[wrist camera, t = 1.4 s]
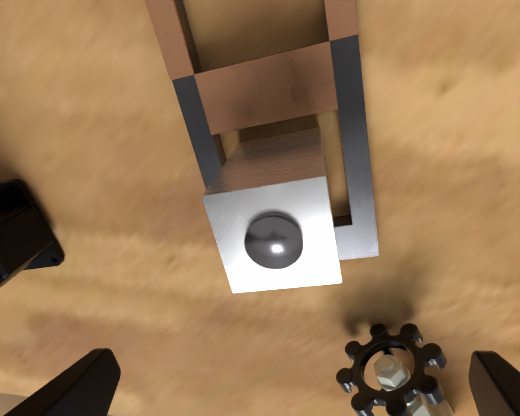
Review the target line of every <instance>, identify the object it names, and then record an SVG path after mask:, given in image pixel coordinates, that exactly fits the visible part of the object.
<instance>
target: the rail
mask: <svg viewBox="0 0 520 416" xmlns="http://www.w3.org/2000/svg"><path fill="white" fill-rule="evenodd" d="M145 1H146V4H147V7H148V10H149V14H150V17H151V20H152V23H153V26H154V30H155V33H156V36H157V39H158V42H159V45H160V49H161V52H162V55H163V58H164V61H165V65H166V68H167V71H168V74H169V77H170V80H172V82H173V85H174V88H175V91H176V95H177V98H178V101H179V104H180V107H181V111H182V114H183V117H184V120H185V123H186V127H187V130H188V133H189V136H190V139H191V143H192V146H193V149H194V152H195V155H196V159H197V162H198V165H199V168H200V171H201V175H202V178H203V181H204V184H205V187H206V190H207V188H208V187H209V185H210V184H211V182H212V181H213V180H214V178H215V177H216V175H217V174H218V172H219V171H220V170H221V168H222V167H223V165H224V164H225V162H226V157H225V153H224V150H223V146H222V143H221V139H220V135H219V133H223V132H228V131H233V130H238V129H243V128H248V127H253V126H258V125H263V124H268V123H273V122H277V121H282V120H287V119H292V118H297V117H302V116H307V115H312V114H317V113H322V112H327V111H331V110H336V109H337V115H338V123H339V131H340V139H341V146H342V154H343V162H344V170H345V177H346V185H347V193H348V201H349V208H350V215H349V216H342V217H334V218H333V221H334V228H335V235H336V243H337V250H338V257H339V260H345V259H355V258H364V257H373V256H379V250H378V239H377V229H376V218H375V208H374V197H373V187H372V177H371V166H370V156H369V145H368V135H367V124H366V114H365V103H364V93H363V83H362V72H361V62H360V51H359V41H358V24H357V13H356V3H355V0H323V7H324V15H325V22H326V30H327V38H328V41H327V42H323V43H319V44H315V45H311V46H307V47H303V48H299V49H295V50H291V51H287V52H283V53H278V54H274V55H270V56H266V57H262V58H258V59H254V60H250V61H246V62H242V63H238V64H234V65H230V66H226V67H222V68H218V69H214V70H210V71H206V72H202V70H201V66H200V63H199V59H198V56H197V52H196V48H195V45H194V41H193V37H192V34H191V30H190V27H189V23H188V19H187V16H186V12H185V8H184V5H183V1H182V0H145Z"/></svg>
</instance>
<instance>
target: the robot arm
mask: <svg viewBox="0 0 520 416" xmlns="http://www.w3.org/2000/svg"><path fill="white" fill-rule="evenodd" d="M16 187H17V188H18V189H17V188H16ZM63 261H64V255H63V254H62V252H61V250H60V248H59V246H58V244H57V243H56V241H55V239H54V237H53V235H52V233H51V232H50V230H49V228H48V226H47V224H46V222H45V221H44V219H43V217H42V215H41V213H40V211H39V210H38V208H37V206H36V204H35V202H34V200H33V199H32V197H31V195H30V193H29V191H28V189H27V188H26V186H25V184H24V183H23V182H22V181H20V180H18V179H14V180H9V181H4V182H0V287H2V286H3V285H4V284H6V283H7V282H8V281H9V280H11V279H12V278H13V277H14V276H16V275H17V274H18V273H19V272H21V271H22V270H28V269H36V268H44V267H51V266H58V265H60V264H61V263H62V262H63ZM120 375H121V370H120V367H119V365H118V362H117V360H116V358H115V356H114V354H113V352H112V350H110V349H109V348H97V349H94V350H92V351H91V352H89V353H88V354H87V355H85V356H84V357H83V358H81V359H80V360H79V361H77V362H76V363H74V364H73V365H72V366H70V367H69V368H68V369H66V370H65V371H64V372H62V373H61V374H59V375H58V376H57V377H55V378H54V379H53V380H51V381H50V382H49V383H47V384H46V385H45V386H43V387H42V388H40V389H39V390H38V391H36V392H35V393H34V394H32V395H31V396H30V397H28V398H27V399H26V400H24V401H23V402H22V403H20V404H19V405H17V406H16V407H15V408H13V409H12V410H11V411H9V412H8V413H7V414H5V415H4V416H107V414H108V411H109V408H110V405H111V402H112V399H113V397H114V394H115V391H116V388H117V385H118V382H119V379H120ZM469 384H470V388H471V391H472V394H473V397H474V400H475V404H476V407H477V410H478V413H479V416H520V372H519V371H518V370H517V369H516V368H514V367H513V366H512V365H511V364H510V363H508V362H507V361H506V360H505V359H504V358H502V357H501V356H500V355H499V354H497V353H496V352H494V351H474V352H473V353H472V356H471V363H470V370H469Z"/></svg>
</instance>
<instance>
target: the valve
mask: <svg viewBox="0 0 520 416" xmlns="http://www.w3.org/2000/svg"><path fill="white" fill-rule="evenodd" d="M370 334H371V336H372V340H371V341H370V342H369V343H367V344H366V345H360V343H359V342H357V341H351V342H349V343H348V344H347V345H346V346H345V352H346V354H347V355H348V357H349V358H350V360H351V361H352V362H353V366H352V367H351V368H350V369H349V368H343V369H341V370H339V371H338V373H337V375H336V380H337V382H338V383H339V384H340V386H341V387H342V389H343V390H344V391H345V392H347V393H351V392H352V390H351V386H357V387H358V389H359V392H358V393H357V394H355V395H354V396H353V397H352V400H351V405H352V408H353V409H354V411H355V412H356V413H357V415H358V416H374V414H373V413H372V411H371V410H372V407H373V406H380V405H381V406H386V411H387V413H388V415H389V416H455V414H454V412H453V411H452V409H451V407H450V405H449V404H448V402H447V400H446V399H444V396H445V395H444V391H443V389H442V388H441V386H440V384H439V382H438V381H437V379H436V378H435V377H433V376H430V375H428V366H429V365H437V367H438V369H442V368H444V367H445V365H446V363H447V359H446V357H445V355H444V353H443V351H442V350H441V348H440V346H438V345H437V344H434V343H429V344H426V345H424V346H423V348H420V347H418V346H417V345H416V344H415V342H416V341H418V342H420V343H422V342H423V337H422V335H421V333H420V331H419V329H418V327H417V326H416V325H415V324H412V323H408V324H405V325H403V326H402V327H401V329H400V334H398V335H390V334H389V332H388V330H387V329H386V327H385V326H384V325H383V324H376V325H373V326H372V327H371V329H370ZM391 348H400V349H403V350H406V351H407V352H409V353H410V354H411V355H412V356H413V357H414V361H415V368H414V372H413V374H412V375H411V374H410V372H409V370H408V369H407V367H406V366H405V365H404V364H403V363H401V361H400V359H399V358H398V357H396V356H394V354H393V352H392V350H391ZM379 351H382V352H383V354H384V355H383V356H381V357H380V358H379V359H378V360H377V361H376V362H375V363H374V368H375V373H376V377H377V380H378V383H379V384H380V386H381V387H382V389H381V390H380V391H378V390H375V389H373V388H371V387H369V386H368V385H367V384H366V383H365V380H364V370H365V366H366V364H367V362H368V360H369V359H370V358H371V357H372V356H373V355H374V354H375V353H377V352H379Z"/></svg>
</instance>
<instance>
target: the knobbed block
mask: <svg viewBox="0 0 520 416" xmlns="http://www.w3.org/2000/svg"><path fill="white" fill-rule="evenodd" d="M202 199H203V202H204V205H205V208H206V211H207V214H208V218H209V221H210V224H211V227H212V230H213V233H214V236H215V239H216V242H217V246H218V249H219V252H220V255H221V258H222V261H223V264H224V267H225V270H226V274H227V277H228V280H229V283H230V286H231V289H232V292H233V293H240V292H250V291H260V290H271V289H281V288H292V287H302V286H312V285H323V284H333V283H342V279H341V272H340V265H339V257H338V250H337V243H336V235H335V228H334V221H333V213H332V206H331V199H330V192H329V186H328V179H327V173H326V166H325V160H324V153H323V147H322V140H321V133H320V127H317V128H312V129H307V130H302V131H297V132H292V133H287V134H282V135H276V136H271V137H266V138H261V139H256V140H251V141H246V142H240V143H239V144H238V145H237V147H236V148H235V150H234V151H233V153H232V154H231V155H230V157H229V158H228V160H227V161H226V162H225V164H224V165H223V167H222V168H221V170H220V171H219V172H218V174H217V175H216V177H215V178H214V180H213V181H212V182H211V184H210V185H209V187H208V188H207V190H206V191H205V192H204V194H203V195H202Z"/></svg>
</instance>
